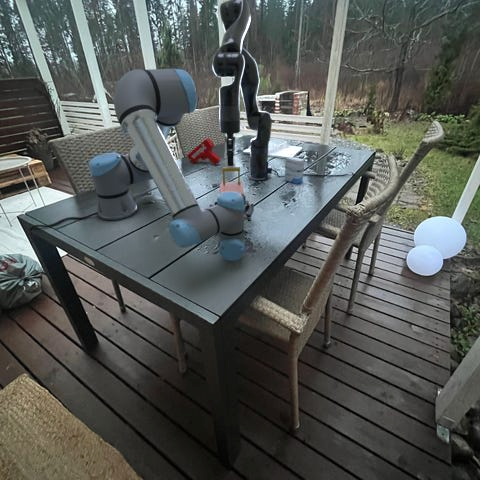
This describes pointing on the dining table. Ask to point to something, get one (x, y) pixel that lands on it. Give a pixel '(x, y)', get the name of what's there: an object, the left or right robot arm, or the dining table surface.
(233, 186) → the block with yellow handle
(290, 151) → the relief map
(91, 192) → the dining table surface
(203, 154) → the toy gun
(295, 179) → the ink box
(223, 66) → the right robot arm
